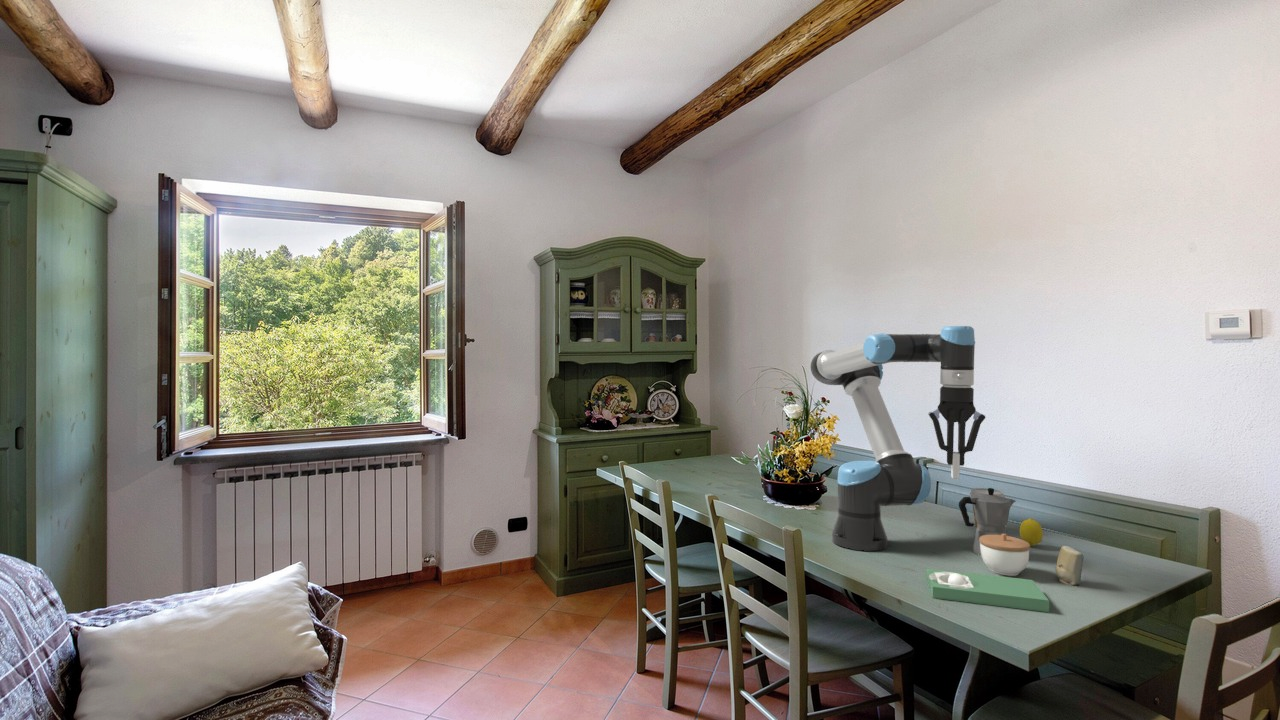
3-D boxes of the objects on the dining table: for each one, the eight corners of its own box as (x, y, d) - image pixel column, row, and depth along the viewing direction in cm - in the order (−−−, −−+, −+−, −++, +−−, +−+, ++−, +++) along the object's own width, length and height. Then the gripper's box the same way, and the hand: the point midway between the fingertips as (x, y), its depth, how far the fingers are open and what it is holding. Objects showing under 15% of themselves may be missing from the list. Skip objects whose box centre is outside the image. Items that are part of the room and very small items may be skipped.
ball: (944, 584, 131) (957, 573, 130) (942, 578, 135) (955, 567, 134) (959, 598, 130) (972, 586, 129) (957, 592, 134) (970, 580, 133)
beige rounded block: (1089, 584, 136) (1089, 550, 136) (1079, 588, 133) (1078, 554, 133) (1062, 576, 141) (1061, 543, 141) (1051, 580, 138) (1051, 547, 138)
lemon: (1035, 543, 166) (1035, 515, 166) (1047, 549, 161) (1047, 521, 161) (1015, 543, 167) (1015, 515, 167) (1026, 549, 161) (1026, 520, 161)
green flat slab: (932, 597, 129) (932, 586, 129) (926, 578, 140) (926, 568, 140) (1049, 612, 121) (1049, 600, 121) (1032, 590, 132) (1032, 580, 132)
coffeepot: (1004, 547, 163) (1004, 484, 163) (1026, 559, 153) (1026, 491, 153) (950, 548, 163) (949, 484, 163) (969, 559, 153) (968, 492, 153)
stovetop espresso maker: (1012, 533, 176) (1011, 494, 176) (980, 533, 176) (980, 494, 176) (993, 524, 185) (993, 487, 185) (963, 524, 185) (963, 487, 185)
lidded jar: (1031, 582, 137) (1030, 543, 137) (979, 574, 143) (978, 536, 143) (1029, 568, 146) (1028, 532, 146) (980, 561, 152) (979, 525, 152)
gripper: (930, 386, 146) (928, 478, 146) (989, 388, 141) (987, 483, 142) (926, 384, 153) (925, 472, 153) (982, 385, 148) (981, 476, 149)
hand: (955, 477), depth 147 cm, fingers closed
